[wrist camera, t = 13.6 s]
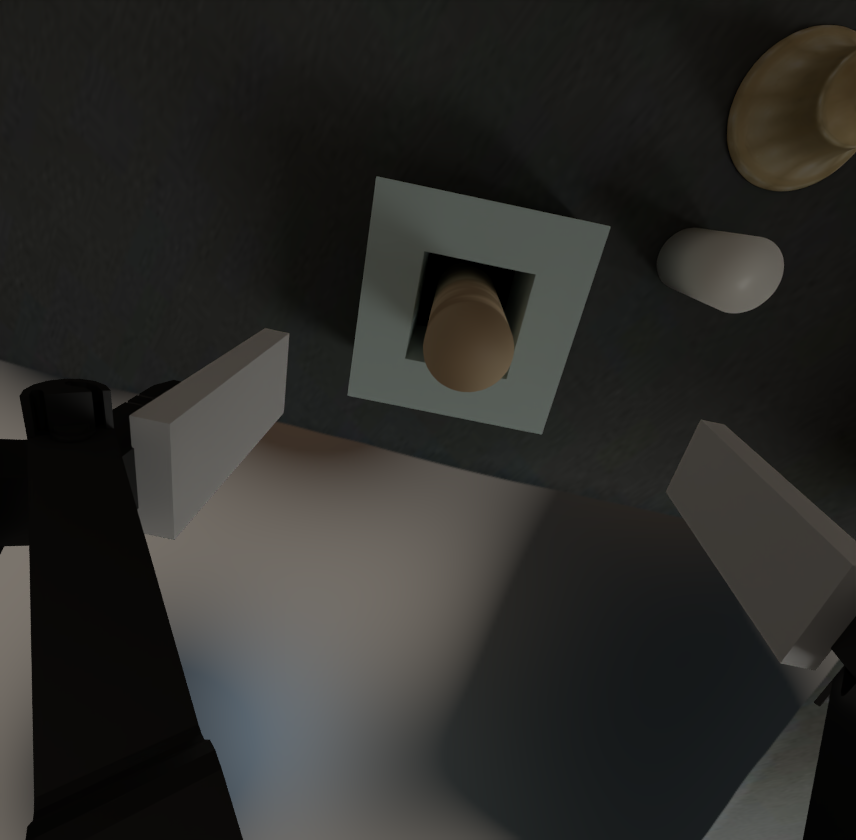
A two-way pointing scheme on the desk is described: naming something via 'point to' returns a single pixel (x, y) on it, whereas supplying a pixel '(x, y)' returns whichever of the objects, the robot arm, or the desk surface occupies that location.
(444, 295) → the long pin
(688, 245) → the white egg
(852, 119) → the hand bell
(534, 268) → the hole block
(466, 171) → the desk surface
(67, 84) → the desk surface
